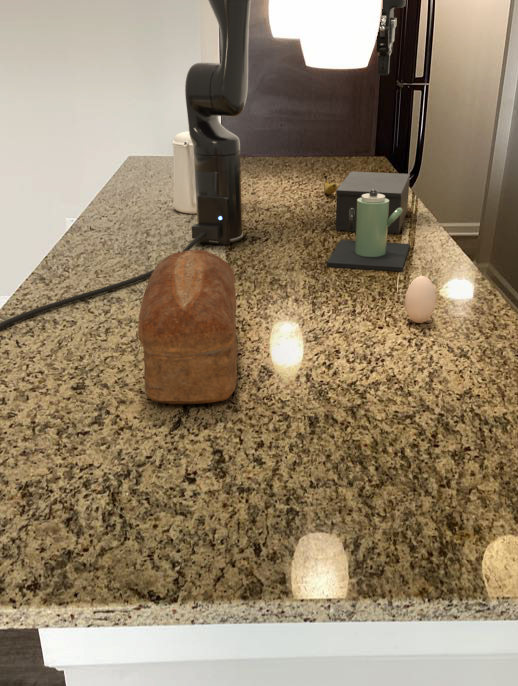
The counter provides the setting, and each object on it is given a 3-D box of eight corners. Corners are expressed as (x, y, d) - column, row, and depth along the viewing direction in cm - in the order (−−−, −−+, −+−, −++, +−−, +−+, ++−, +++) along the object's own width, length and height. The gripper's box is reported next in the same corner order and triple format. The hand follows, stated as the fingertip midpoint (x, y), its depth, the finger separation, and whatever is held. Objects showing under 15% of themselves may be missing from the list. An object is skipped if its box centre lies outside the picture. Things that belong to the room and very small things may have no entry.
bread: (138, 416, 95) (127, 310, 88) (158, 323, 122) (151, 236, 115) (239, 413, 95) (236, 307, 89) (237, 321, 122) (234, 234, 116)
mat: (401, 271, 144) (402, 267, 144) (326, 266, 147) (326, 262, 146) (409, 247, 158) (409, 243, 157) (340, 243, 161) (340, 239, 160)
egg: (409, 328, 119) (412, 281, 116) (399, 318, 123) (402, 272, 120) (438, 326, 120) (442, 279, 117) (427, 316, 124) (431, 270, 121)
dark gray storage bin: (398, 233, 167) (401, 196, 163) (335, 230, 170) (336, 193, 166) (407, 212, 184) (409, 177, 180) (349, 208, 187) (350, 175, 183)
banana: (338, 199, 195) (339, 183, 193) (329, 200, 195) (329, 183, 193) (329, 190, 204) (330, 175, 202) (320, 191, 203) (321, 175, 201)
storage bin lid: (400, 197, 163) (401, 193, 162) (336, 194, 165) (336, 190, 165) (409, 177, 180) (409, 173, 180) (350, 174, 183) (351, 171, 182)
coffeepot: (165, 223, 175) (158, 133, 166) (180, 197, 197) (175, 117, 188) (213, 223, 175) (209, 134, 166) (224, 197, 197) (221, 117, 188)
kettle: (401, 250, 154) (405, 187, 148) (398, 258, 148) (402, 194, 143) (350, 246, 156) (352, 184, 150) (345, 255, 150) (347, 191, 145)
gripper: (373, -19, 164) (369, 72, 172) (365, -20, 153) (361, 77, 161) (410, -19, 163) (404, 73, 171) (403, -21, 151) (397, 78, 160)
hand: (383, 75), depth 166 cm, fingers closed
